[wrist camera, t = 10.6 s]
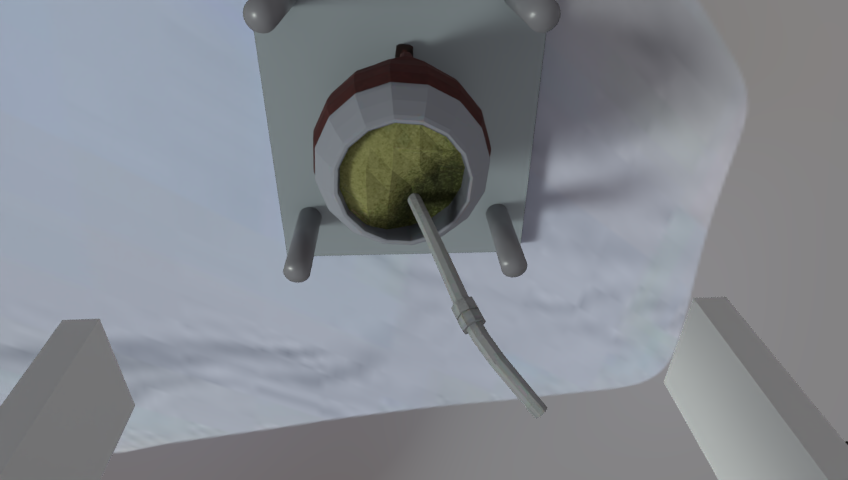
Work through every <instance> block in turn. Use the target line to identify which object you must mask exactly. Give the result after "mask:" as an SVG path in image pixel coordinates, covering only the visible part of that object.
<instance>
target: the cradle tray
mask: <svg viewBox="0 0 848 480" xmlns="http://www.w3.org/2000/svg"><path fill="white" fill-rule="evenodd" d="M243 17H244V20H245V22H246V24H247V25H248V27H249V28H250V29H252V30H253V31H254V36H255V43H256V49H257V56H258V63H259V69H260V76H261V83H262V89H263V96H264V103H265V110H266V116H267V123H268V130H269V136H270V143H271V150H272V156H273V163H274V170H275V177H276V183H277V190H278V197H279V203H280V210H281V217H282V223H283V230H284V237H285V244H286V250H287V259H286V262H285V266H284V270H283V272H284V275H285V277H286V278H287V279H288V280H290V281H292V282H303V281H305V280H307V279H308V278H309V276H310V272H311V267H312V262H313V257H314V256H334V255H380V254H426V253H431V251H430V249H429V247H428V244H427V242H422V243H419V244H416V245H392V244H381V243H379V242H376V241H374V240H371V239H368V238H366V237H363V236H361V235H358V234H356V233H354V232H352V231H351V230H350V229H349V228H348V227H347V226H346V225H345V224H344V223H342V222H341V221H340V220H339V219H338V218H337V217H336V216H335V215H334V214H333V213H332V212H331V211H329V209H328V207H327V205H326V203H325V201H324V198H323V196H322V194H321V192H320V190H319V188H318V185H317V183H316V181H315V174H314V170H313V131H314V128H315V126H316V123H317V121H318V119H319V117H320V114H321V112H322V110H323V108H324V105H325V103H326V101H327V99H328V97H329V96H330V94H331V93H332V92H333V91H334V90H335V89H337V88H338V87H339V86H340V85H341V84H342V83H343V82H344V81H346V80H347V79H348V78H349V77H350V76H351V75H352V74H353V73H354V72H356V71H357V70H360V69H363V68H366V67H369V66H372V65H375V64H377V63H380V62H382V61H385V60H388V59H393V58H395V52H396V45H398V44H410V45H411V46H413V57H414V58H416V59H419V60H422V61H425V62H426V63H428V64H430V65H432V66H434V67H435V68H437V69H439V70H441V71H443V72H444V73H446V74H448V75H450V76H451V77H453V78H455V79H456V80H457V81H458V82H459V83H460V84H461V85H462V86H463V88H464V89H465V90H466V91H467V93H468V94H469V95H470V96H471V98H472V99H473V100H474V101H475V103H476V104H477V105H478V106H479V108H480V109H481V110H482V113H483V117H484V121H485V125H486V129H487V133H488V137H489V140H490V145H491V155H490V166H489V171H488V177H487V183H486V189H485V192H484V194H483V195H482V197H481V199H480V200H479V202H478V203H477V205H476V206H475V208H474V209H473V211H472V212H471V214H470V216H469V217H468V218H467V219H466V220H464V221H463V222H462V223H460V224H459V225H458V226H456V227H455V228H453V229H452V230H451V231H449V232H448V233H446V234H445V235H444V236H442V237H441V239H442V241H443V243H444V246H445V248H446V250H447V252H448V253H472V252H497V256H498V259H499V263H500V266H501V269H502V272H503V274H504V275H506V276H508V277H518V276H520V275H522V274H523V273H524V272H525V271H526V269H527V262H526V259H525V257H524V254H523V251H522V248H521V246H520V244H521V236H522V227H523V219H524V211H525V203H526V195H527V186H528V178H529V170H530V162H531V153H532V145H533V137H534V129H535V120H536V112H537V104H538V96H539V87H540V79H541V71H542V63H543V54H544V46H545V38H546V32H548V31H550V30H552V29H553V28H554V27H555V26H556V25H557V23H558V21H559V19H560V7H559V5H558V3H557V2H556V1H555V0H248V1H247V2H246V4H245V6H244V9H243Z"/></svg>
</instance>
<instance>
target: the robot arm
mask: <svg viewBox="0 0 848 480" xmlns="http://www.w3.org/2000/svg"><path fill="white" fill-rule="evenodd" d="M664 383H665V385H666V387H667V389H668V390H669V392H670V394H671V396H672V398H673V399H674V401H675V403H676V405H677V407H678V409H679V410H680V412H681V414H682V416H683V417H684V419H685V421H686V423H687V425H688V426H689V428H690V430H691V432H692V434H693V435H694V437H695V439H696V441H697V442H698V444H699V446H700V448H701V450H702V451H703V453H704V455H705V457H706V458H707V460H708V462H709V464H710V466H711V468H712V469H713V471H714V473H715V475H716V476H717V478H718V480H848V442H847V441H846V442H845V441H844V440H843V439H842V438H841V437H840V435H839V434H838V433H837V432H836V430H835V429H834V428H833V427H832V426H831V424H830V423H829V422H828V421H827V420H826V418H825V417H824V416H823V415H822V413H821V412H820V411H819V410H818V408H817V407H816V406H815V405H814V404H813V402H812V401H811V400H810V399H809V398H808V396H807V395H806V394H805V393H804V392H803V390H802V389H801V388H800V387H799V385H798V384H797V383H796V382H795V380H794V379H793V378H792V377H791V376H790V374H789V373H788V372H787V371H786V369H785V368H784V367H783V366H782V365H781V363H780V362H779V361H778V360H777V359H776V357H775V356H774V355H773V354H772V352H771V351H770V350H769V349H768V348H767V346H766V345H765V344H764V343H763V342H762V340H761V339H760V338H759V337H758V336H757V334H756V333H755V332H754V331H753V329H752V328H751V327H750V326H749V324H748V323H747V322H746V321H745V320H744V318H743V317H742V316H741V315H740V313H739V312H738V311H737V310H736V309H735V307H734V306H733V305H732V304H731V303H730V301H729V300H728V299H727V298H726V297H711V298H694V299H693V301H692V304H691V307H690V310H689V312H688V315H687V318H686V321H685V324H684V326H683V329H682V332H681V335H680V338H679V341H678V343H677V346H676V349H675V352H674V355H673V358H672V360H671V363H670V366H669V369H668V372H667V374H666V377H665V380H664ZM134 407H135V404H134V401H133V399H132V397H131V394H130V392H129V389H128V387H127V384H126V382H125V380H124V377H123V375H122V372H121V370H120V367H119V365H118V363H117V360H116V358H115V355H114V353H113V350H112V348H111V346H110V343H109V341H108V338H107V336H106V333H105V331H104V328H103V326H102V324H101V321H100V319H81V320H62V321H61V323H60V324H59V326H58V327H57V328H56V330H55V331H54V333H53V334H52V335H51V337H50V338H49V340H48V341H47V342H46V344H45V345H44V347H43V348H42V349H41V351H40V352H39V354H38V355H37V356H36V358H35V359H34V360H33V362H32V363H31V365H30V366H29V367H28V369H27V370H26V372H25V373H24V374H23V376H22V377H21V379H20V380H19V381H18V383H17V384H16V386H15V387H14V388H13V390H12V391H11V392H10V394H9V395H8V397H7V398H6V399H5V401H4V402H3V404H2V405H1V406H0V480H101V478H102V476H103V473H104V471H105V469H106V467H107V465H108V463H109V461H110V458H111V456H112V454H113V452H114V450H115V448H116V446H117V443H118V441H119V439H120V437H121V435H122V433H123V430H124V428H125V426H126V424H127V422H128V420H129V418H130V415H131V413H132V411H133V409H134Z"/></svg>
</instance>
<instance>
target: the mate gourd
mask: <svg viewBox="0 0 848 480" xmlns="http://www.w3.org/2000/svg"><path fill="white" fill-rule="evenodd" d="M490 155H491V145H490V140H489V137H488V133H487V129H486V125H485V121H484V117H483V113H482V110H481V109H480V108H479V106H478V105H477V104H476V103H475V101H474V100H473V99H472V98H471V96H470V95H469V94H468V93H467V91H466V90H465V89H464V88H463V86H462V85H461V84H460V83H459V82H458V81H457V80H456V79H455V78H453V77H451V76H450V75H448V74H446V73H444V72H443V71H441V70H439V69H437V68H435V67H434V66H432V65H430V64H428V63H426V62H425V61H422V60H419V59H416V58H414V57H413V46H411V45H410V44H398V45H396V52H395V58H393V59H388V60H385V61H382V62H380V63H377V64H375V65H372V66H369V67H366V68H363V69H360V70H357V71H356V72H354V73H353V74H352V75H351V76H350V77H349V78H348V79H347V80H346V81H344V82H343V83H342V84H341V85H340V86H339V87H338V88H337V89H335V90H334V91H333V92H332V93H331V94H330V96H329V97H328V99H327V101H326V103H325V105H324V108H323V110H322V112H321V114H320V117H319V119H318V121H317V123H316V126H315V128H314V131H313V170H314V174H315V181H316V183H317V185H318V188H319V190H320V192H321V194H322V196H323V198H324V201H325V203H326V205H327V207H328V209H329V211H331V212H332V213H333V214H334V215H335V216H336V217H337V218H338V219H339V220H340V221H341V222H342V223H344V224H345V225H346V226H347V227H348V228H349V229H350V230H351V231H352V232H354V233H356V234H358V235H361V236H363V237H366V238H368V239H371V240H374V241H376V242H379V243H381V244H392V245H416V244H419V243H422V242H427V244H428V247H429V249H430V251H431V253H432V256H433V258H434V260H435V262H436V265H437V267H438V269H439V271H440V274H441V276H442V278H443V281H444V283H445V285H446V288H447V290H448V292H449V295H450V297H451V299H452V302H453V306H452V310H453V312H454V315H455V317H456V319H457V320H458V323H459V325H460V327H461V329H462V330H463V332H464V333H465V334H468V333H469V335H470V337H471V338H472V340H473V342H474V343H475V345H476V346H477V347H478V349H479V350H480V351H481V353H482V354H483V356H484V357H485V358H486V360H487V361H488V362H489V364H490V365H491V366H492V368H493V369H494V370H495V371H496V372H497V373H498V375H499V376H500V377H501V378H502V380H503V381H504V382H505V383H506V384H507V386H508V387H509V388H510V389H511V390H512V392H513V393H514V394H515V395H516V396H517V398H518V399H519V400H520V401H521V403H522V404H523V405H524V406H525V407H526V409H527V410H528V411H529V412H530V413H531V414H532V416H533V417H534V418H538V417H540V416H542V415H543V414H544V413H545V412H546V409H547V407H546V405H545V404H544V403H543V402H542V401H541V399H540V398H539V397H538V396H537V395H536V393H535V392H534V391H533V390H532V389H531V387H530V386H529V385H528V384H527V382H526V381H525V380H524V379H523V378H522V376H521V375H520V374H519V373H518V372H517V370H516V369H515V368H514V367H513V366H512V364H511V363H510V362H509V361H508V360H507V358H506V357H505V356H504V355H503V353H502V352H501V350H500V349H499V348H498V346H497V345H496V343H495V342H494V341H493V339H492V338H491V337H490V335H489V334H488V332H487V330H486V329H485V327H484V323H485V322H486V321H485V320H484V318H483V316H482V314H481V312H480V311H479V309H478V307H477V305H476V303H475V301H474V300H473V298H472V297H468V295H467V292H466V290H465V288H464V286H463V284H462V282H461V280H460V277H459V275H458V273H457V271H456V269H455V267H454V265H453V263H452V260H451V258H450V256H449V254H448V252H447V250H446V248H445V246H444V243H443V241H442V239H441V237H442V236H444V235H445V234H446V233H448V232H449V231H451V230H452V229H453V228H455V227H456V226H458V225H459V224H460V223H462V222H463V221H464V220H466V219H467V218H468V217H469V216H470V214H471V212H472V211H473V209H474V208H475V206H476V205H477V203H478V202H479V200H480V199H481V197H482V195H483V194H484V192H485V189H486V183H487V177H488V171H489V166H490Z"/></svg>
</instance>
